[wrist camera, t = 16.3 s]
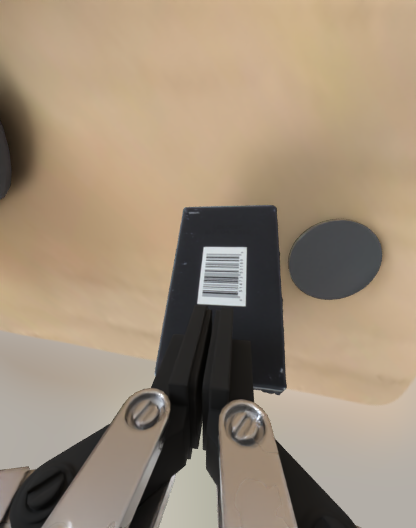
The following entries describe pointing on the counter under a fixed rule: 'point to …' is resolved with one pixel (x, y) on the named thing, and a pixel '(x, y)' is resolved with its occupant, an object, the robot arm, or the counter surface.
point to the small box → (231, 283)
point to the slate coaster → (334, 259)
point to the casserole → (4, 164)
